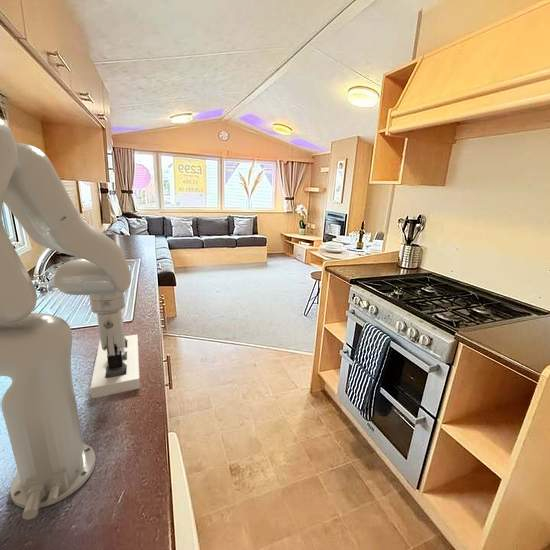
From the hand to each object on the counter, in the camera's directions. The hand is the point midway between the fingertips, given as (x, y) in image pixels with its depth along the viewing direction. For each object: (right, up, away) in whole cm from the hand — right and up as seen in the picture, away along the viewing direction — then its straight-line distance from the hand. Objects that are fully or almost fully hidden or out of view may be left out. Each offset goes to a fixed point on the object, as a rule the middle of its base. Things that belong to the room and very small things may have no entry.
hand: (115, 366), depth 81 cm
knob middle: (-3, 0, +7) cm, 8 cm away
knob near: (0, -4, +1) cm, 4 cm away
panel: (-3, -2, +8) cm, 9 cm away
